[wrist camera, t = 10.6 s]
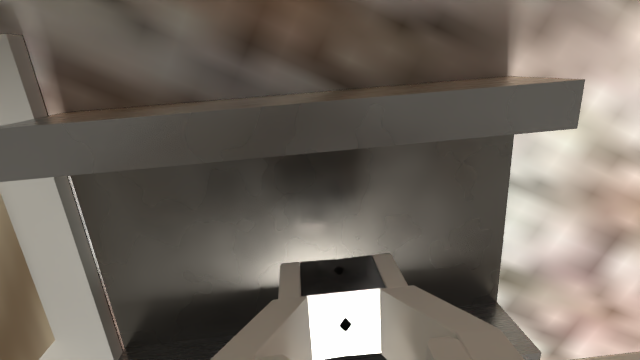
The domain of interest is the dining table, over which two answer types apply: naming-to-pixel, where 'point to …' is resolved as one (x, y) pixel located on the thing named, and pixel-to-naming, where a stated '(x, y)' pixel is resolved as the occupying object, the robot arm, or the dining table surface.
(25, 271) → the birch block
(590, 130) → the dining table surface
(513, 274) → the dining table surface
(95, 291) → the slate mat
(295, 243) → the metal chute
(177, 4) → the dining table surface
